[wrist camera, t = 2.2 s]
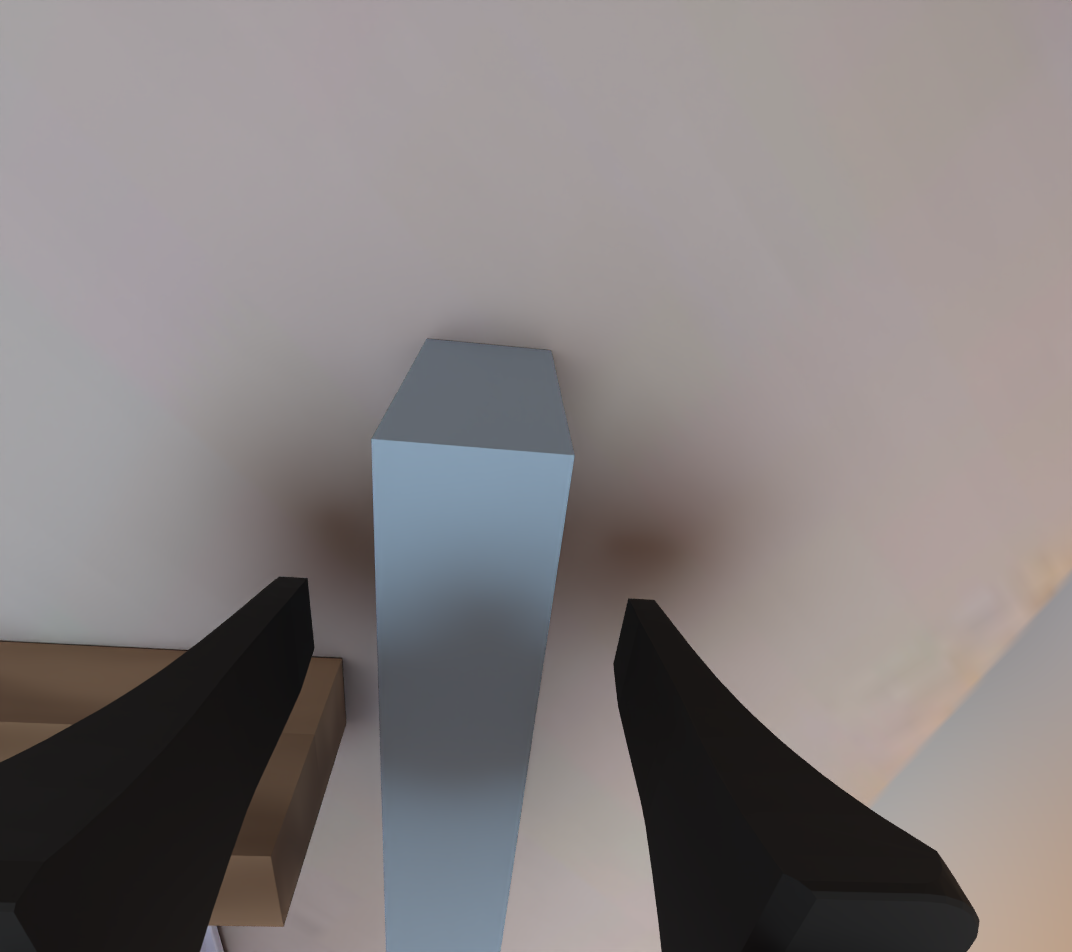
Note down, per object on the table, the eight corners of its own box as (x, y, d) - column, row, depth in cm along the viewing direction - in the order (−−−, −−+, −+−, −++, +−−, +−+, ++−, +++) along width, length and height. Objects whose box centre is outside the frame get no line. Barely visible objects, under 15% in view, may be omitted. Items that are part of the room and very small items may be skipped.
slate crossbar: (496, 809, 22) (491, 1009, 17) (418, 807, 22) (387, 1009, 16) (551, 350, 14) (575, 455, 9) (426, 338, 14) (371, 439, 8)
